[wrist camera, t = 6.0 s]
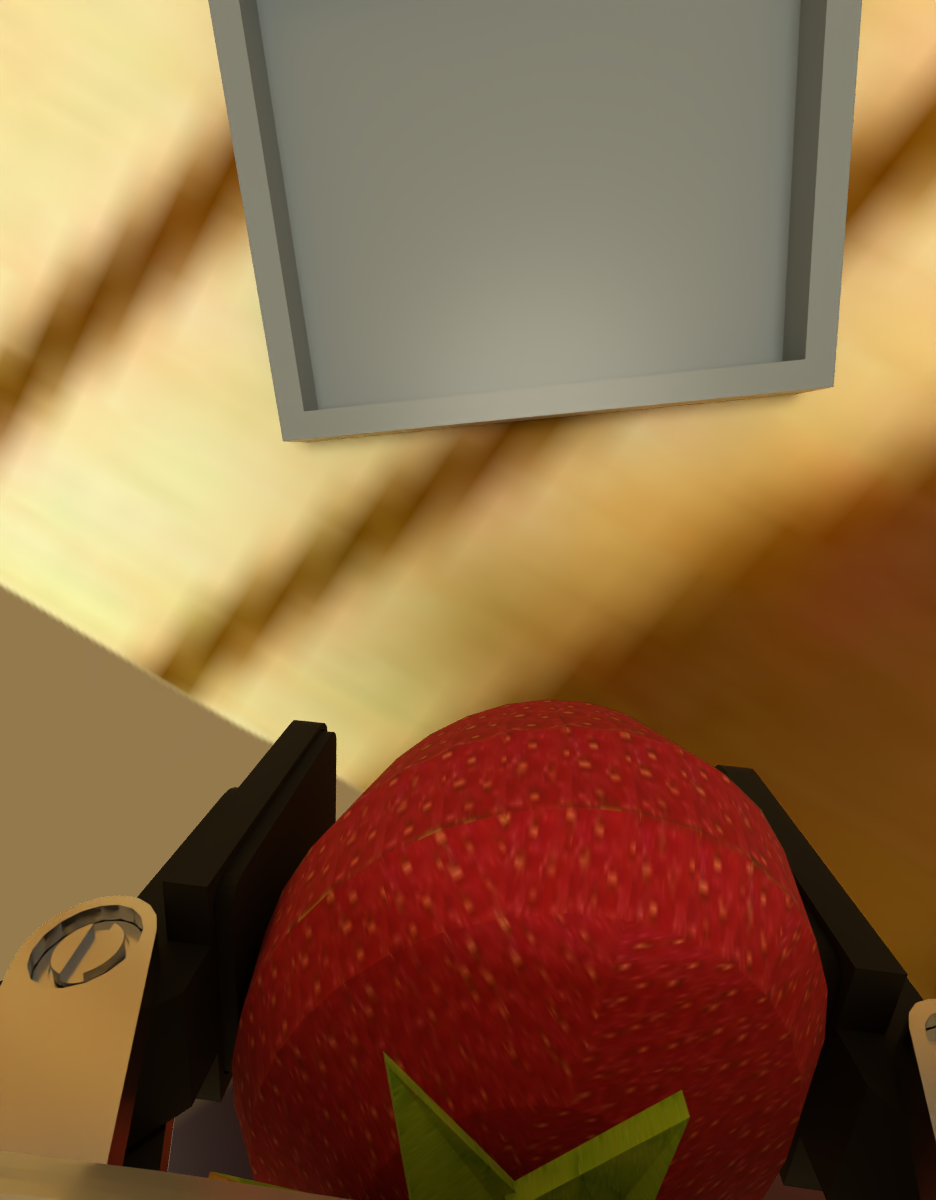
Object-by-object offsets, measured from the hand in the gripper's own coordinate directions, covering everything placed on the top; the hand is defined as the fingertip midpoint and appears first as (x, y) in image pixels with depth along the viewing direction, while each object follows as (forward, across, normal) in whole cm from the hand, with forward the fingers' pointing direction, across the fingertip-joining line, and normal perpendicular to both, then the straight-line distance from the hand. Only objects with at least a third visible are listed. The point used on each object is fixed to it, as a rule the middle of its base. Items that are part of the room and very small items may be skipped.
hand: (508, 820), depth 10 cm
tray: (+15, +1, -16) cm, 22 cm away
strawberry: (+2, 0, 0) cm, 2 cm away
